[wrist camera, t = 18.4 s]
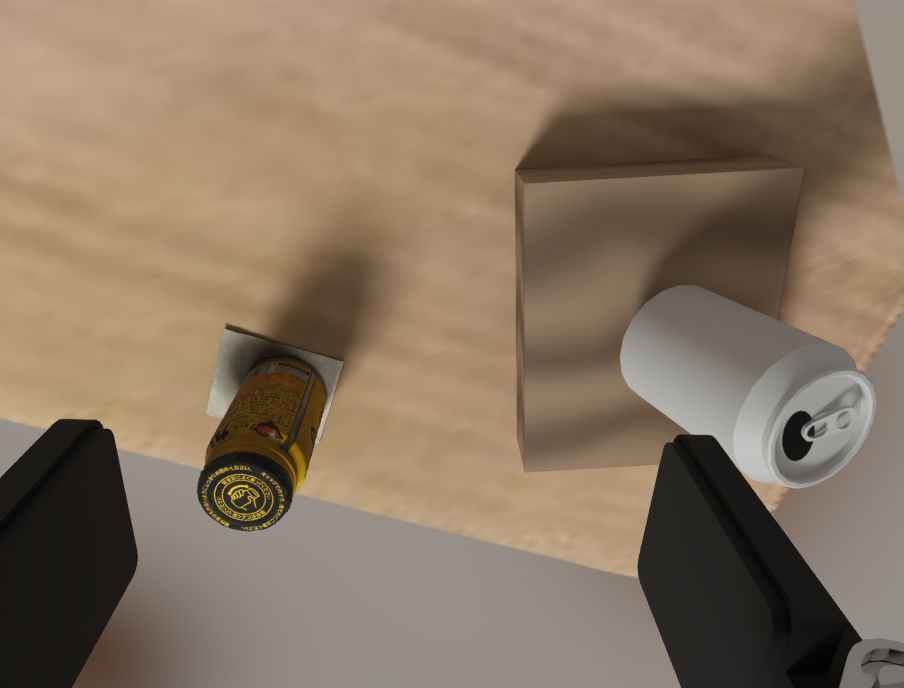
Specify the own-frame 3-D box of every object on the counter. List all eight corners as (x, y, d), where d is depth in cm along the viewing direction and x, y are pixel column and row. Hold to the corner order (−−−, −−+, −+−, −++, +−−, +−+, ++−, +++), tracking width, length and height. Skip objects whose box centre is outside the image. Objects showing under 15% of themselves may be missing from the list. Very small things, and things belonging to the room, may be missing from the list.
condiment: (319, 442, 49) (288, 557, 38) (206, 413, 47) (140, 523, 37) (344, 360, 46) (318, 459, 35) (224, 326, 45) (158, 418, 34)
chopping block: (513, 168, 41) (524, 183, 37) (763, 153, 41) (804, 167, 37) (516, 433, 50) (524, 472, 45) (723, 420, 50) (752, 458, 45)
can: (598, 316, 38) (749, 409, 27) (704, 258, 39) (889, 327, 28) (627, 413, 41) (771, 529, 31) (723, 359, 42) (894, 452, 32)
